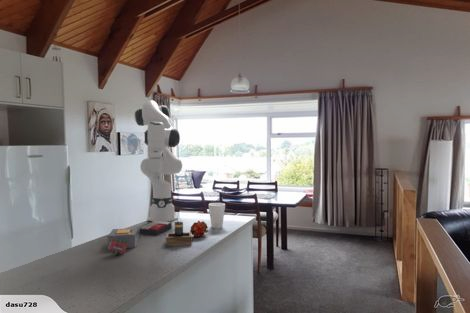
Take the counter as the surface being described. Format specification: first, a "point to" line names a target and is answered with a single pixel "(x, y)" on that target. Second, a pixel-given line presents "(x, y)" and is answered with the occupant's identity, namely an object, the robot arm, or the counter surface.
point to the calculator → (155, 228)
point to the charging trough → (178, 239)
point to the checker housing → (124, 237)
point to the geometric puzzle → (117, 246)
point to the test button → (123, 231)
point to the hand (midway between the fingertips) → (157, 180)
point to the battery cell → (178, 228)
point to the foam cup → (216, 214)
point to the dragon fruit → (199, 229)
